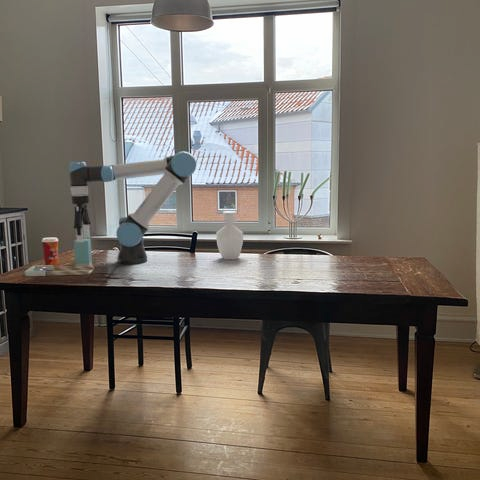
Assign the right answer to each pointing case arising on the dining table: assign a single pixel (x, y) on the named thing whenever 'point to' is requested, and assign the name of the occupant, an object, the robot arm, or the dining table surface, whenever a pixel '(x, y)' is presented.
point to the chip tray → (37, 273)
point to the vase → (229, 237)
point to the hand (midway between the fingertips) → (83, 240)
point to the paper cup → (50, 250)
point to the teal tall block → (83, 253)
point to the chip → (42, 267)
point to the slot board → (71, 270)
